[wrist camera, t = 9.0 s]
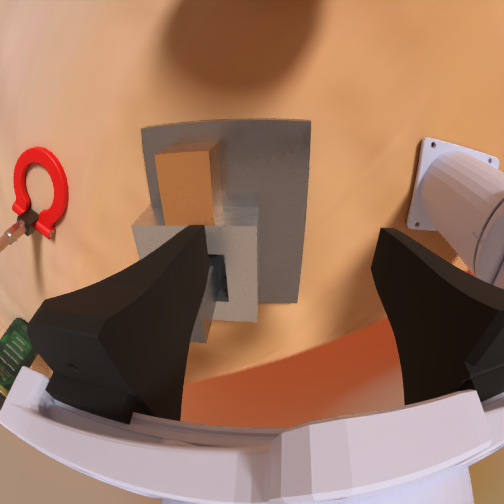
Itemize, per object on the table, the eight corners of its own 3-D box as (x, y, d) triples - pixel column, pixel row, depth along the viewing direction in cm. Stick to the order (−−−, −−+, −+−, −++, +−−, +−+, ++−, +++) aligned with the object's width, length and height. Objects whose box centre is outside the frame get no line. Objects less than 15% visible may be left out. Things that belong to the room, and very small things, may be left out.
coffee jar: (17, 310, 34) (-31, 386, 19) (47, 339, 37) (5, 418, 22) (12, 325, 38) (-28, 390, 23) (38, 350, 41) (3, 417, 26)
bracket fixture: (309, 120, 17) (317, 126, 14) (296, 296, 26) (298, 327, 23) (140, 127, 18) (114, 137, 15) (170, 290, 27) (158, 318, 24)
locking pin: (222, 239, 22) (199, 311, 15) (224, 269, 24) (206, 343, 17) (186, 238, 22) (152, 306, 16) (191, 268, 24) (163, 338, 17)
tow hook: (28, 133, 18) (14, 203, 23) (-69, 177, 7) (-59, 262, 11) (80, 168, 21) (60, 239, 25) (-23, 234, 10) (-11, 316, 14)
